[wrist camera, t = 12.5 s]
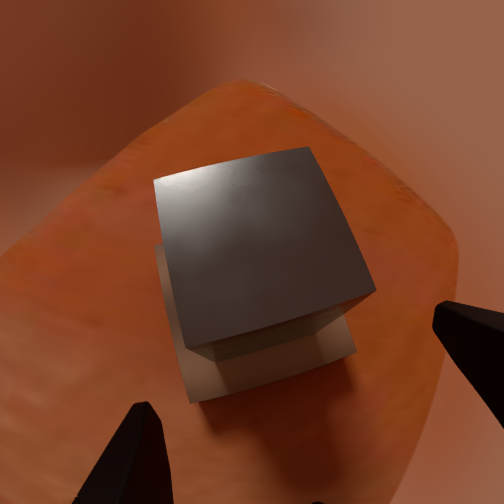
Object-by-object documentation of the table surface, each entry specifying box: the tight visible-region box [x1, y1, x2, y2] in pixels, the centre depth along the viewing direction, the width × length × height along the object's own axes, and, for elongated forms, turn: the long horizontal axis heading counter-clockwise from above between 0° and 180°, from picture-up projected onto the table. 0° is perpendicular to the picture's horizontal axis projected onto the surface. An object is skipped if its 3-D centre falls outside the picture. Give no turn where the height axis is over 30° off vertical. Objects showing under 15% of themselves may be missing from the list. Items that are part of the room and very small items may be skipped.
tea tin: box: [154, 147, 376, 363], centre depth 15 cm, size 7×7×10 cm
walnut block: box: [154, 243, 357, 404], centre depth 21 cm, size 11×11×3 cm
